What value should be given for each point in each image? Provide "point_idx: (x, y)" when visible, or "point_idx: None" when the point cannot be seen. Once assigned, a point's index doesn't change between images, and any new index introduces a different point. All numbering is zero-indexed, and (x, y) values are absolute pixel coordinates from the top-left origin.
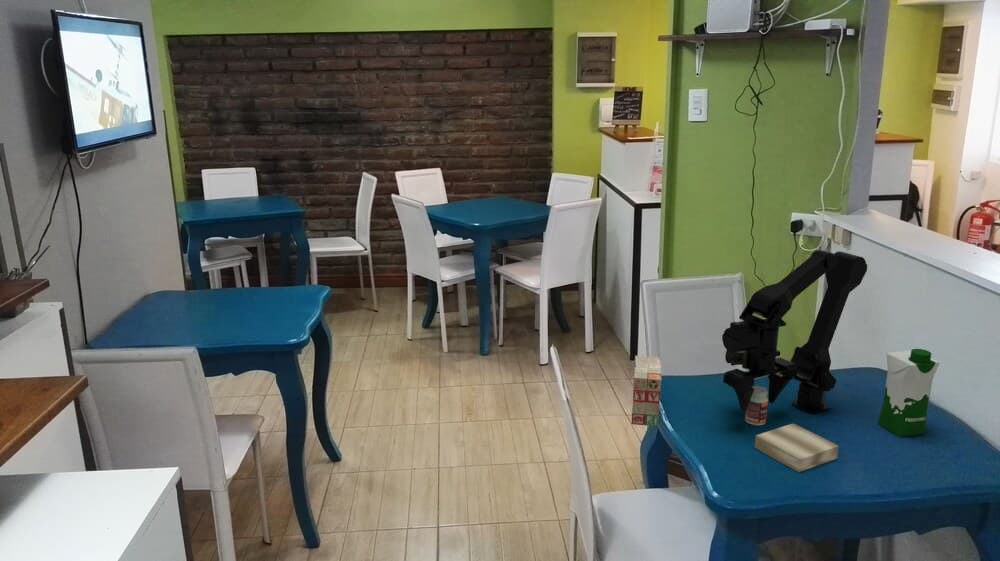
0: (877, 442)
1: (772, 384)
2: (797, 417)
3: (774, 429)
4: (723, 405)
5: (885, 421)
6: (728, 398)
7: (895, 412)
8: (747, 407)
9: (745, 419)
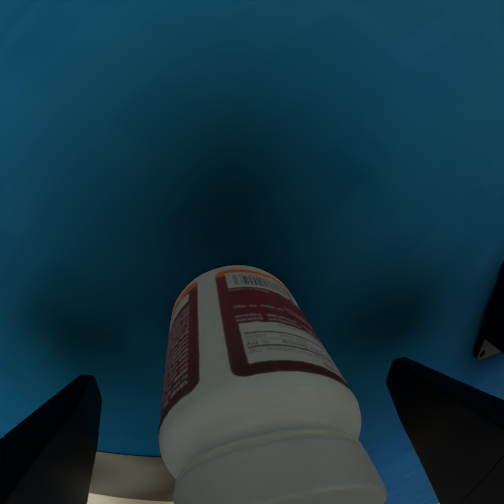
0: (402, 485)
1: (483, 458)
2: (428, 358)
3: (154, 501)
4: (240, 39)
5: None
6: (353, 5)
7: None
8: (166, 367)
9: (178, 298)
